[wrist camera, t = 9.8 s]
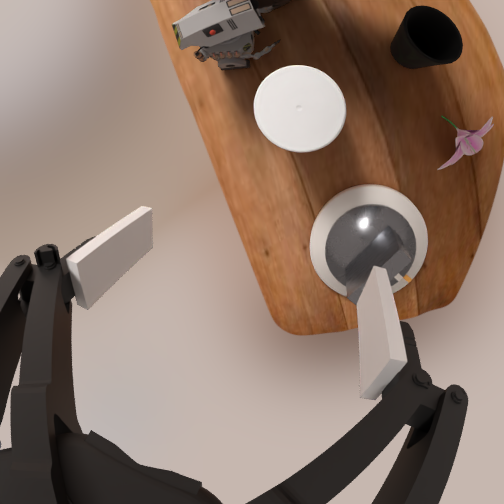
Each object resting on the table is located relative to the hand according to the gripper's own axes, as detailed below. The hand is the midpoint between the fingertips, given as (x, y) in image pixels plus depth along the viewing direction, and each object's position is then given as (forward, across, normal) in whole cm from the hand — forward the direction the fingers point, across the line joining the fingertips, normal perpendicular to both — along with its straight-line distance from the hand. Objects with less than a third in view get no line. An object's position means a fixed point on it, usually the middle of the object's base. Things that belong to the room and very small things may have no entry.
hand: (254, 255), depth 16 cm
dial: (+27, +14, -10) cm, 32 cm away
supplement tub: (+30, -1, +8) cm, 31 cm away
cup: (+30, +13, +22) cm, 40 cm away
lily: (+30, +23, +11) cm, 40 cm away
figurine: (+30, -11, +18) cm, 37 cm away
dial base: (+30, +14, -10) cm, 34 cm away
